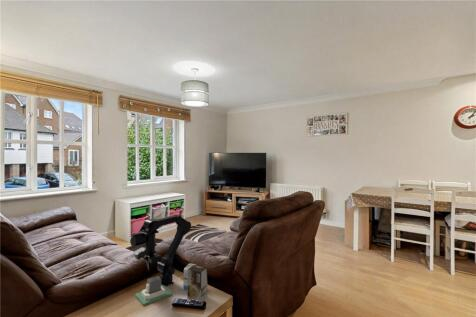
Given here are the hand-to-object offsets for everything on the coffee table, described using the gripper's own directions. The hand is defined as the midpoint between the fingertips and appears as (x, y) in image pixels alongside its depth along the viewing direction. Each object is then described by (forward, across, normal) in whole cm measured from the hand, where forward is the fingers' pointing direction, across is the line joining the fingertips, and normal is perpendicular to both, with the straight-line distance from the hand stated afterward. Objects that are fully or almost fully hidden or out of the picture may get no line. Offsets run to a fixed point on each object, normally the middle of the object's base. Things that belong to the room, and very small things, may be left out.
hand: (149, 269), depth 137 cm
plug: (+11, +6, 0) cm, 12 cm away
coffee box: (+12, +24, +16) cm, 31 cm away
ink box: (+12, +11, +20) cm, 26 cm away
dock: (+12, +6, 0) cm, 13 cm away
